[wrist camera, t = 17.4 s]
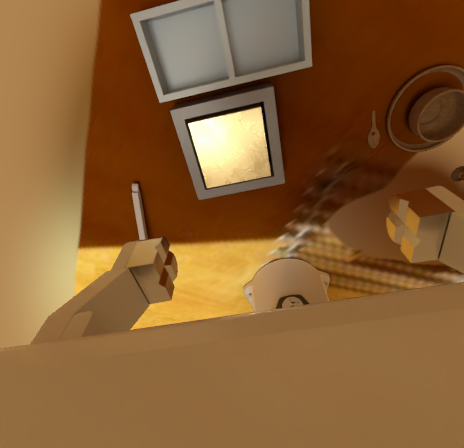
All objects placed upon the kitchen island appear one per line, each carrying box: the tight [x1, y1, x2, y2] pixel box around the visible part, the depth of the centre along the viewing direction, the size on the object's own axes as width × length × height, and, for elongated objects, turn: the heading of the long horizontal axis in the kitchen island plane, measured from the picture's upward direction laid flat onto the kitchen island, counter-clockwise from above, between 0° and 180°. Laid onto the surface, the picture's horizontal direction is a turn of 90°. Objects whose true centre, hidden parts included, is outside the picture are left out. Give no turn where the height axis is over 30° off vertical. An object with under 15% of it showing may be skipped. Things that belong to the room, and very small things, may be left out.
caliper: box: [132, 184, 148, 240], centre depth 50 cm, size 20×1×6 cm, turn 1°
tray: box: [130, 0, 312, 103], centre depth 35 cm, size 20×10×4 cm, turn 102°
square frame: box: [170, 82, 285, 200], centre depth 42 cm, size 14×14×4 cm
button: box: [188, 102, 271, 188], centre depth 41 cm, size 10×10×4 cm
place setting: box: [368, 65, 464, 182], centre depth 41 cm, size 18×20×6 cm
